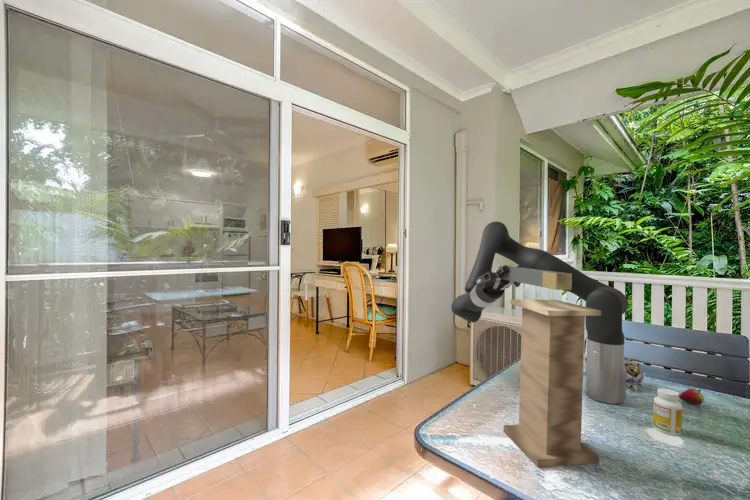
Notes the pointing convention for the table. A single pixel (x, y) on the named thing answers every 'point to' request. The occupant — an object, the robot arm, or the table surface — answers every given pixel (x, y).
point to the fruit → (692, 396)
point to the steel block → (539, 278)
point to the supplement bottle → (667, 412)
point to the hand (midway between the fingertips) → (513, 268)
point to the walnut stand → (551, 383)
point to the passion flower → (633, 374)
